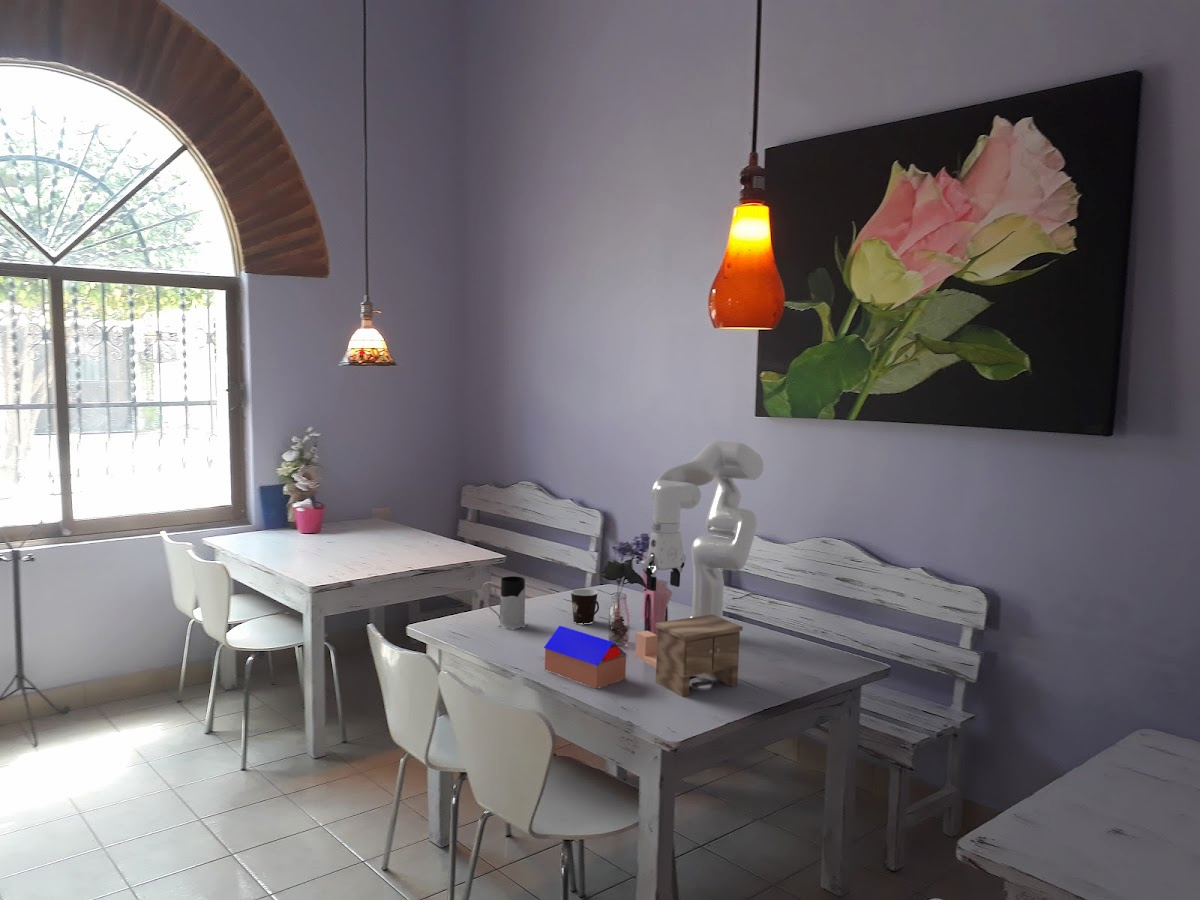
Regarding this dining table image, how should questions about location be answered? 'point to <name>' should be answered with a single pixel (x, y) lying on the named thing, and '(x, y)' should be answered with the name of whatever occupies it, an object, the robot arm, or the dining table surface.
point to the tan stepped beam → (647, 647)
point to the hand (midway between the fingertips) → (663, 587)
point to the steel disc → (701, 684)
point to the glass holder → (511, 602)
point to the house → (584, 658)
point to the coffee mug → (584, 605)
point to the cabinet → (696, 651)
